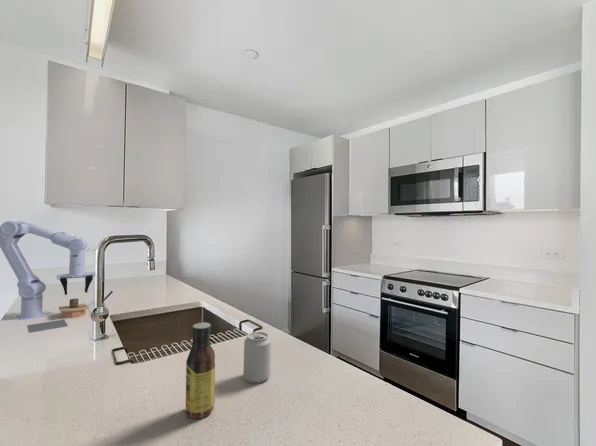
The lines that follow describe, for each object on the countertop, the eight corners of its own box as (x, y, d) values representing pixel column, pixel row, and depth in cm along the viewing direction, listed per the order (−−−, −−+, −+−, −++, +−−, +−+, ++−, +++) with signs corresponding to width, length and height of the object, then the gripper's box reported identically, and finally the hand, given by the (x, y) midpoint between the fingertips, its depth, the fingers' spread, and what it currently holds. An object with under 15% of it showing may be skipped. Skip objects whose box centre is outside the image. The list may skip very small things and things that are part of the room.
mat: (27, 326, 123) (27, 325, 123) (64, 320, 131) (64, 319, 131) (28, 333, 114) (29, 332, 114) (68, 327, 123) (68, 326, 123)
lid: (58, 308, 138) (59, 299, 138) (85, 304, 145) (85, 295, 145) (61, 312, 131) (61, 303, 131) (88, 308, 137) (89, 299, 138)
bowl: (59, 315, 138) (60, 308, 138) (83, 312, 144) (83, 304, 144) (62, 320, 131) (62, 312, 131) (87, 316, 137) (87, 308, 138)
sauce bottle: (189, 404, 71) (191, 319, 71) (216, 403, 71) (218, 319, 72) (181, 422, 64) (183, 329, 64) (210, 421, 65) (213, 328, 65)
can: (248, 387, 79) (249, 341, 79) (240, 374, 85) (241, 332, 86) (274, 380, 82) (275, 337, 82) (264, 369, 89) (265, 328, 89)
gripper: (58, 266, 133) (57, 297, 132) (97, 264, 143) (96, 292, 142) (56, 264, 138) (55, 294, 137) (94, 262, 148) (93, 290, 147)
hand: (76, 293), depth 140 cm, fingers open, 7 cm apart
